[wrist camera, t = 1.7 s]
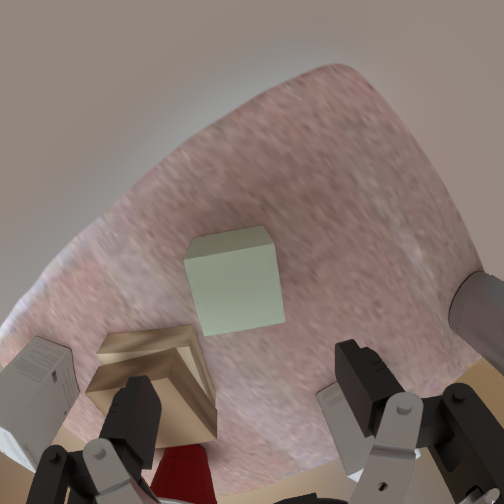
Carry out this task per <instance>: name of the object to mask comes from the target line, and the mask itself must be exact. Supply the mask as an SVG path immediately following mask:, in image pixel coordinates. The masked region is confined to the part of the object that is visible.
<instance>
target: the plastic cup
mask: <svg viewBox="0 0 504 504" xmlns="http://www.w3.org/2000/svg"><path fill="white" fill-rule="evenodd" d="M150 488H151V490H152V491H153V493H154V494H155V495H156V497H157V498H158V499H159V501H160V502H161V503H162V504H217V501H216V498H215V493H214V488H213V483H212V478H211V472H210V469H209V465H208V460H207V455H206V452H205V450H204V448H203V447H201V446H200V445H198V444H189V445H182V446H174V447H166V449H165V452H164V455H163V458H162V460H161V461H160V463H159V466H158V468H157V471H156V473H155V476H154V478H153V481H152V483H151V486H150Z"/></svg>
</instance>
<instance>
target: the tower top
mask: <svg viewBox="0 0 504 504" xmlns="http://www.w3.org/2000/svg"><path fill="white" fill-rule="evenodd" d="M138 375H147V376H148V377H149V379H150V381H151V383H152V385H153V387H154V389H155V391H156V393H157V394H158V396H159V398H160V401H161V405H162V412H161V418H160V423H159V428H158V434H157V439H156V445H155V448H164V447H174V446H182V445H189V444H196V443H202V442H208V441H214V440H217V409H216V408H215V407H214V405H213V404H212V402H211V401H210V400H209V398H208V397H207V395H206V394H205V392H204V391H203V389H202V388H201V386H200V385H199V384H198V382H197V381H196V379H195V377H194V376H193V374H192V373H191V371H190V370H189V368H188V367H187V365H186V364H185V362H184V360H183V359H182V357H181V356H180V354H179V352H178V351H177V349H176V347H174V348H170V349H167V350H163V351H159V352H156V353H152V354H148V355H144V356H141V357H137V358H133V359H129V360H125V361H121V362H116V363H112V364H108V365H103V366H99V367H98V369H97V371H96V373H95V375H94V376H93V378H92V380H91V382H90V384H89V386H88V388H87V390H86V392H85V394H86V395H87V396H88V397H89V398H90V400H91V401H92V402H93V403H94V404H95V405H96V406H97V408H98V409H99V410H100V411H101V412H102V413H103V414H104V415H105V416H107V413H109V408H110V406H111V403H112V400H113V398H114V395H115V394H116V393H117V392H118V391H119V390H120V388H121V387H125V386H126V383H127V381H128V378H129V377H130V376H138Z"/></svg>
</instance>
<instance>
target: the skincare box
mask: <svg viewBox="0 0 504 504" xmlns="http://www.w3.org/2000/svg"><path fill="white" fill-rule="evenodd" d="M78 396H79V390H78V387H77V383H76V379H75V374H74V369H73V362H72V352H71V350H70V349H68V348H66V347H63V346H60V345H58V344H55V343H53V342H50V341H48V340H46V339H43V338H41V337H38V336H36V337H35V338H34V339H33V340H32V341H31V342H30V343H29V344H28V345H27V346H26V347H25V348H24V349H23V350H22V351H21V352H20V353H19V354H18V355H17V356H16V357H15V358H14V359H13V360H12V361H11V362H10V363H9V364H8V365H7V366H6V367H5V368H4V370H3V371H2V372H1V373H0V451H1V452H3V453H4V454H6V455H7V456H8V457H10V458H12V459H13V460H15V461H16V462H18V463H20V464H21V465H23V466H25V467H26V468H27V469H29V470H31V471H33V472H34V473H36V470H37V467H38V464H39V461H40V459H41V456H42V454H43V452H44V450H45V449H46V448H48V447H49V446H50V445H51V443H52V442H53V440H54V438H55V436H56V434H57V432H58V430H59V429H60V427H61V425H62V423H63V422H64V420H65V418H66V416H67V415H68V413H69V411H70V409H71V408H72V406H73V404H74V403H75V401H76V399H77V397H78Z"/></svg>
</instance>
